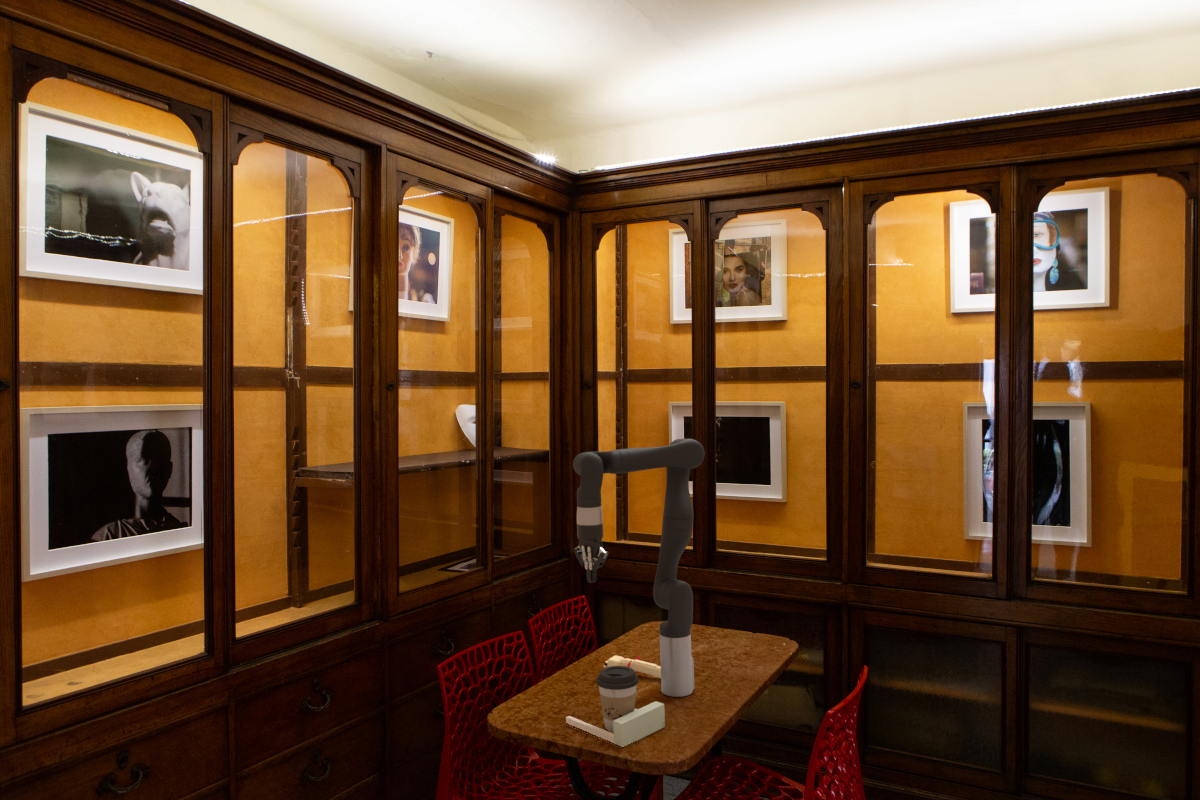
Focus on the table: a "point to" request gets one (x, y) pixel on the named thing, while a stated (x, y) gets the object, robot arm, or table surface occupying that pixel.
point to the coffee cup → (617, 693)
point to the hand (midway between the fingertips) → (591, 582)
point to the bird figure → (635, 665)
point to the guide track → (628, 725)
